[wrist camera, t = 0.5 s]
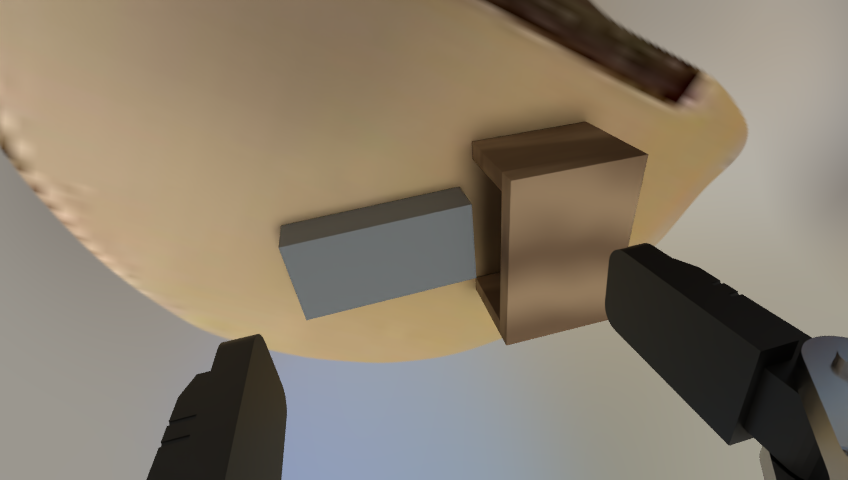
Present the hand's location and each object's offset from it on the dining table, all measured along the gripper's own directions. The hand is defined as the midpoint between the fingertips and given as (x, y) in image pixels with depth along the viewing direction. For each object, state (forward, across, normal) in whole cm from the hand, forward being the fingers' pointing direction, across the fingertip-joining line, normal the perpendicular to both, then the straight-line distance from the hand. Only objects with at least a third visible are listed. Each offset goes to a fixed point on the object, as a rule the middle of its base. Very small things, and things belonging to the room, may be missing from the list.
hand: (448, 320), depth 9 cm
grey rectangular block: (+19, 0, +7) cm, 21 cm away
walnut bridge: (+19, -10, +8) cm, 23 cm away
